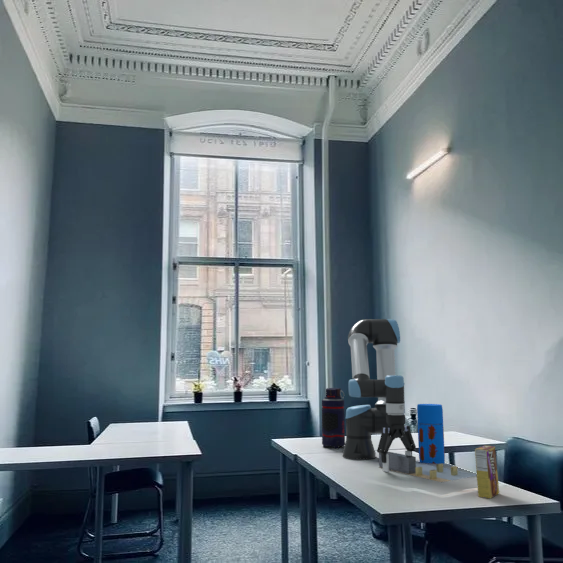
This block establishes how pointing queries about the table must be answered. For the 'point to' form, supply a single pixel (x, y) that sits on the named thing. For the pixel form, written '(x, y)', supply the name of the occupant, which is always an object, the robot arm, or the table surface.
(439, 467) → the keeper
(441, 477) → the door board
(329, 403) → the dark blue bottle
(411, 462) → the bar
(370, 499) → the table surface
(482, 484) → the candy box
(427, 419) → the red-spotted blue pillar
